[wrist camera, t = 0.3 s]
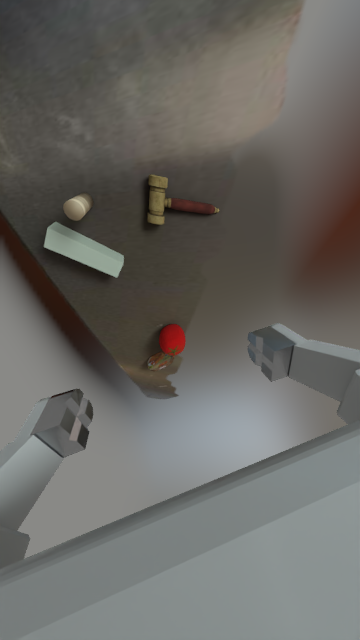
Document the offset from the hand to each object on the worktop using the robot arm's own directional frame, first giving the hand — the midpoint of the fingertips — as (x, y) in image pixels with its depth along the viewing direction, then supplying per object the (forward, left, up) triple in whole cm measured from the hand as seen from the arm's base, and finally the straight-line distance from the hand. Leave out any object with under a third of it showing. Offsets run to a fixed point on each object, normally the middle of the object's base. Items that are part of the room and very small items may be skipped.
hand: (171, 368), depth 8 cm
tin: (+55, +39, -51) cm, 84 cm away
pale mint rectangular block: (+17, -6, -51) cm, 54 cm away
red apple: (+37, +34, -51) cm, 71 cm away
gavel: (-7, +12, -51) cm, 53 cm away
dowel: (+6, -10, -51) cm, 52 cm away
